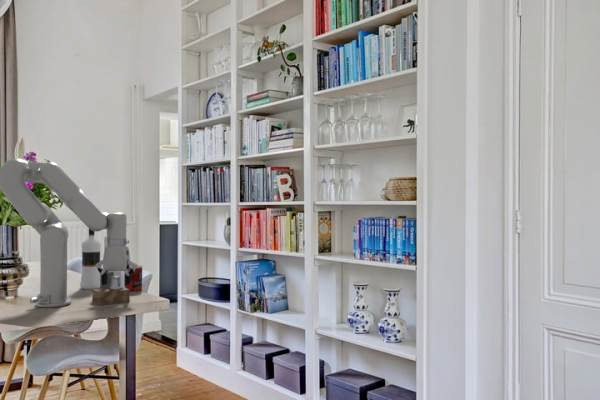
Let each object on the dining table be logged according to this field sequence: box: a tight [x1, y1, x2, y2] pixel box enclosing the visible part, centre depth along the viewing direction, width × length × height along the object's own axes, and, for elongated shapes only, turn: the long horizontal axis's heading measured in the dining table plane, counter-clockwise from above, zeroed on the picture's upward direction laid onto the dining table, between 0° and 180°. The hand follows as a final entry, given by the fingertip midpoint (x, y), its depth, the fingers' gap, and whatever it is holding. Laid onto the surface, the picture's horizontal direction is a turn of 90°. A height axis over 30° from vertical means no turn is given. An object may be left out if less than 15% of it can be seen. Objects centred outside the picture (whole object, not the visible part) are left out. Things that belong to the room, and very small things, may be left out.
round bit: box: [110, 275, 122, 290], centre depth 216 cm, size 4×4×10 cm
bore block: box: [91, 286, 131, 306], centre depth 215 cm, size 12×9×5 cm
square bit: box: [99, 272, 114, 289], centre depth 228 cm, size 4×4×10 cm
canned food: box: [123, 265, 143, 292], centre depth 243 cm, size 8×8×11 cm
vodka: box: [79, 228, 102, 290], centre depth 247 cm, size 9×9×30 cm
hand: (116, 284), depth 216 cm, fingers open, 9 cm apart
